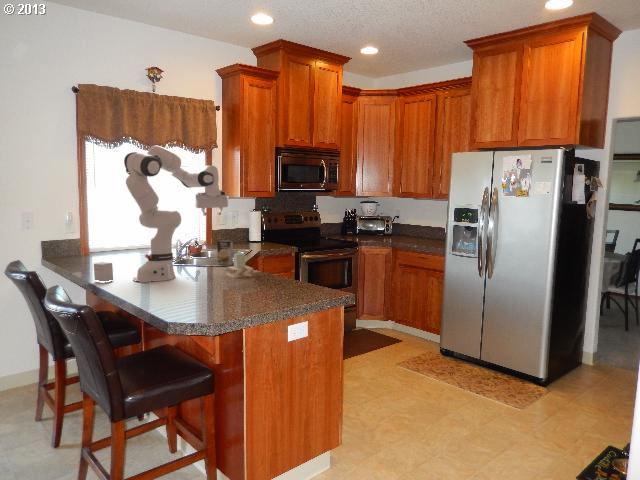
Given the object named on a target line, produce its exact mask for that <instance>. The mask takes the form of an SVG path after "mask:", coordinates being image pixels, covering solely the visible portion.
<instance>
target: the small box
mask: <svg viewBox="0 0 640 480" xmlns="http://www.w3.org/2000/svg"><path fill="white" fill-rule="evenodd" d="M113 267H114V266H113V263H112V262H105V261H103V262H96V263H93V272H94V273H93V274H94V281H95V280H99V281H109V280H113V281H114V272H113V271H114V270H113Z"/></svg>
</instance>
